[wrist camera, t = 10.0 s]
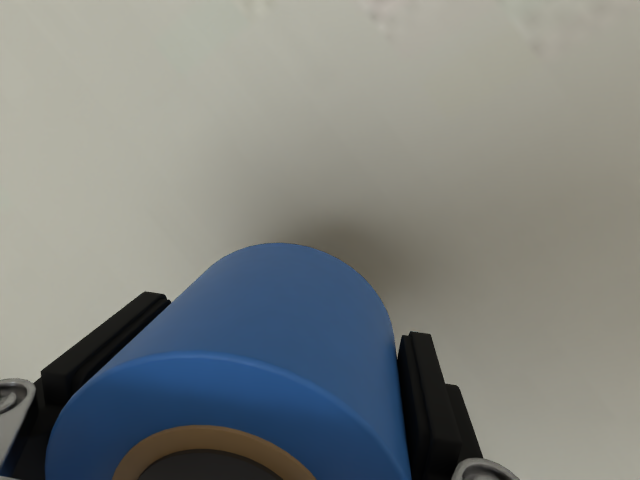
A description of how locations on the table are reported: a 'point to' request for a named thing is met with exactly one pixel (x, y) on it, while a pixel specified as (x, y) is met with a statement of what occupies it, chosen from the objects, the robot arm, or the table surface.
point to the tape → (247, 382)
